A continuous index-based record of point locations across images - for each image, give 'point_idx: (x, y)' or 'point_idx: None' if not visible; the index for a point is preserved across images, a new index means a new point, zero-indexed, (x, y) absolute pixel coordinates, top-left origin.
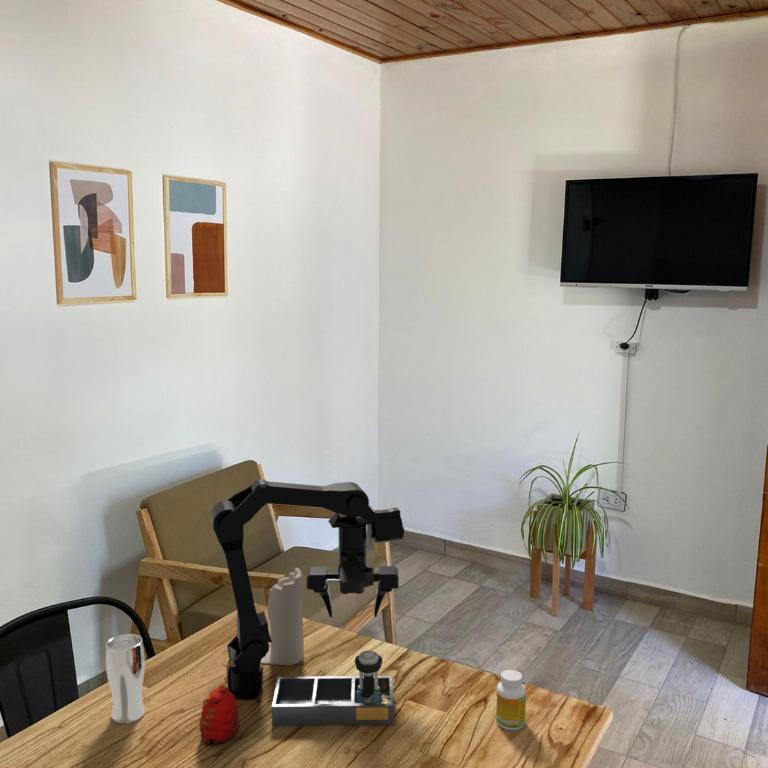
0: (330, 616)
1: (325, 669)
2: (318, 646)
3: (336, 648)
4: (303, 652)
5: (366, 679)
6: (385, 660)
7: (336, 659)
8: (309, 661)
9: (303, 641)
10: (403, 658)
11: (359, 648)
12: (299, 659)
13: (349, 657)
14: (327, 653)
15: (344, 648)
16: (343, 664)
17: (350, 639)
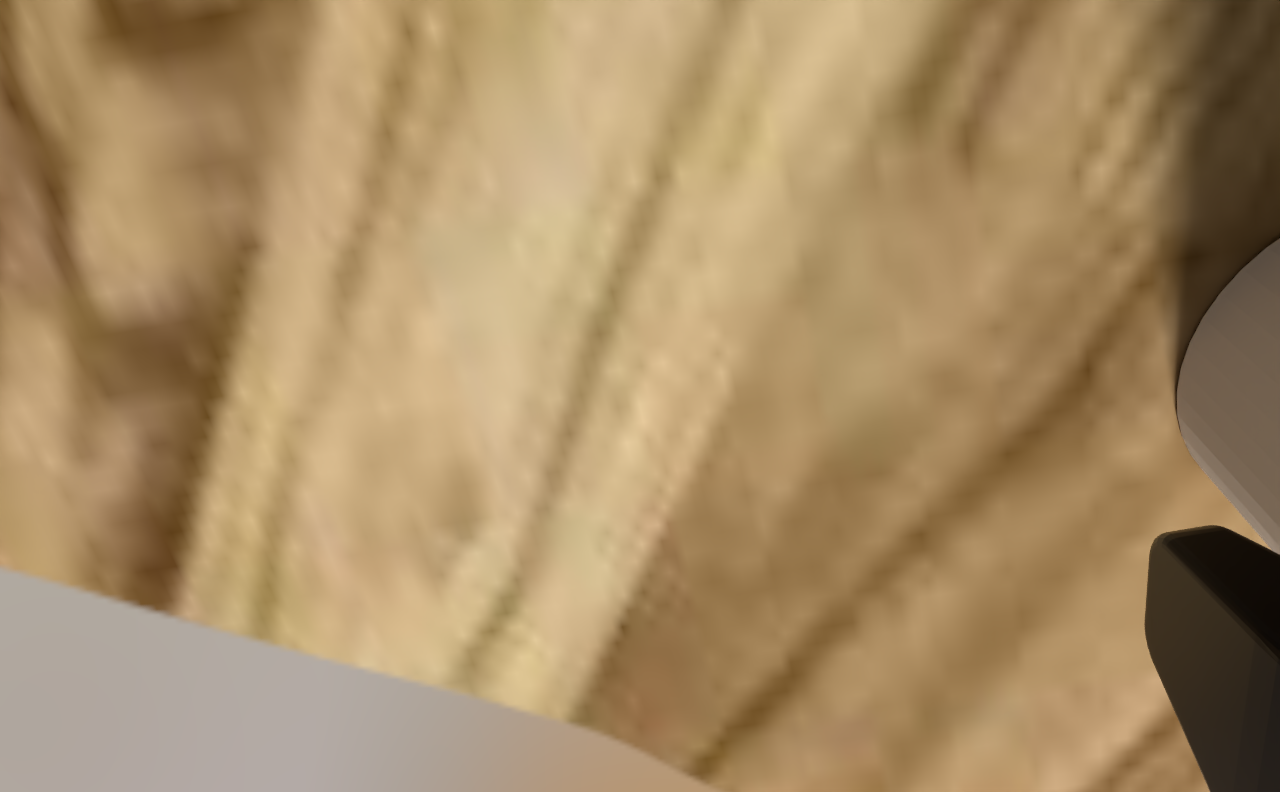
0: (1219, 537)
1: (913, 192)
2: (1030, 591)
3: (847, 587)
4: (1207, 410)
5: None
6: (296, 470)
7: (817, 406)
8: (1109, 322)
9: (1274, 496)
10: (128, 533)
11: (621, 621)
12: (1239, 301)
13: (686, 462)
14: (927, 494)
15: (768, 599)
16: (724, 326)
17: (738, 735)
